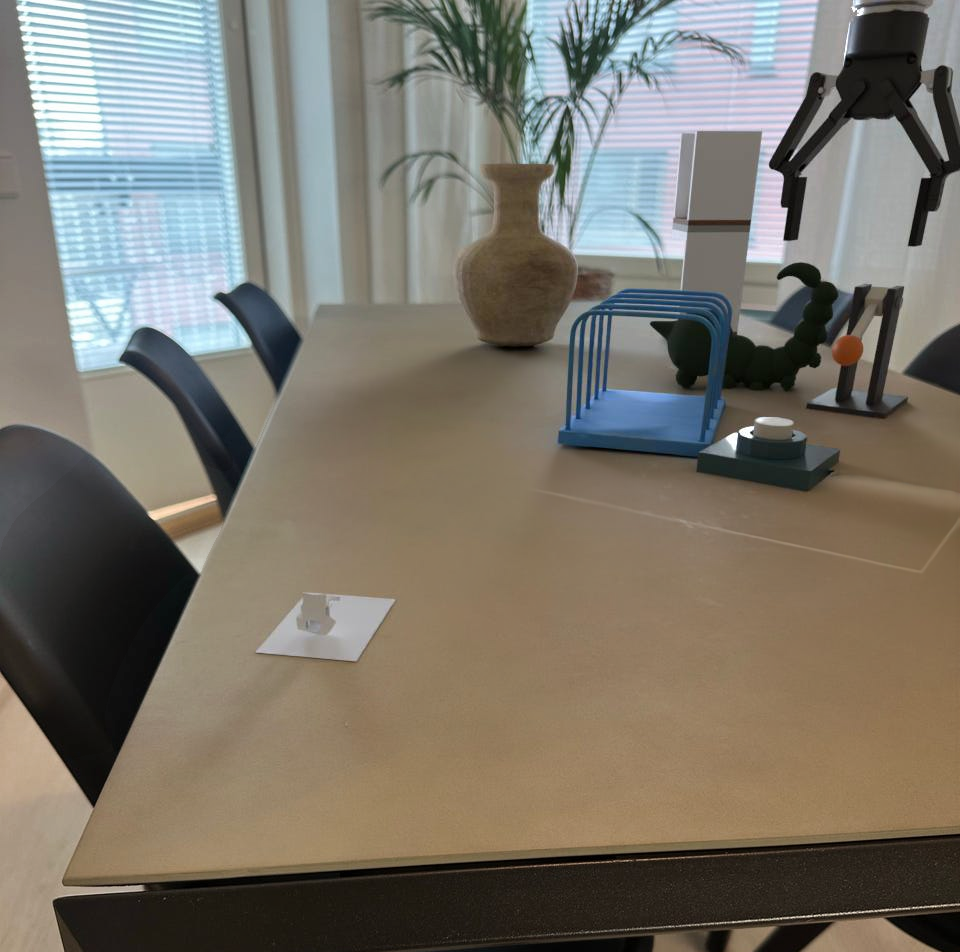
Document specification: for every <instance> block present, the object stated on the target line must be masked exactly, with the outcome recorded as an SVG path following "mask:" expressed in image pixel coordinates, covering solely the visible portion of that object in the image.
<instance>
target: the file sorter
mask: <svg viewBox="0 0 960 952" xmlns="http://www.w3.org/2000/svg"><path fill="white" fill-rule="evenodd" d="M681 295H693V296H681ZM701 296H710V297H701ZM711 297H717V298H719V299H721V300H722V301H723V302H724V303H725V304H726V306H727V309H728V313H727V310H726V308H725V306H724V305H723V304H722V303H721V302H720V301H719V300H717V299H715V298H711ZM679 300H682V301H679ZM690 301H701V302H690ZM705 302H711V303H714V304H715V305H717V306H718V307H719V308H720V309H721V311H722V312H721V311H720V310H719V309H718V308H717V307H716V306H714V305H713V304H710V303H705ZM679 306H688V307H679ZM689 307H703V308H708V309H711V310H712V311H714V312H715V313H716V314H717V315H718V317H719V320H720V324H719V322H718V320H717V318H716V317H715V316H714V315H713V314H712V313H711V312H709V311H708V310H705V309H701V308H689ZM678 312H682V313H697V314H703V315H705V316H707V317H709V318H710V319H711V320H712V322H713V323H714V325H715V329H716V331H715V329H714V327H713V325H712V324H711V323H710V322H709V321H708V320H707V319H705V318H703V317H701V316H698V315H689V314H678ZM722 313H723V314H722ZM605 316H607V320H606V321H607V322H606V333H605V334H606V335H605V346H604V361H603V372H602V387H601V388H600V378H601V362H602V349H603V335H604V318H605ZM589 317H591V318H590V319H591V320H590V327H589V328H590V331H589V343H588V358H587V375H586V376H587V377H586V393H585V402H584V404H583V405H582V394H583V393H582V392H583V376H584V375H583V372H584V354H585V353H584V351H585V335H586V325H587V322H588V319H589ZM597 317H598V332H597V347H596V348H597V349H596V360H595V361H596V362H595V376H594V377H595V379H594V393H593V395H592V380H593V378H592V377H593V365H594V348H595V337H596V327H597V325H596V322H597ZM613 317H634V318H649V319H650V318H651V319H652V318H653V319H668V320H678V319H681V320H695V321H699V322H701V323H703V324H704V325H705V326H706V327H707V328H708V329H709V331H710V333H711V337H712V345H711V355H710V364H709V373H708V375H707V382H706V388H705V396H703V395H690V394H680V393H679V394H677V393H665V392H663V393H662V392H650V391H637V390H626V389H625V390H623V389H610V388H607V384H608V372H609V357H610V348H611V347H610V345H611V335H612V333H611V332H612V321H613ZM731 319H732V308H731V304H730V302H729V301H728V299H727V298H726V297H725V296H723V295H722V294H719V293H716V292H704V291H686V290H681V289H663V288H662V289H661V288H638V287H637V288H634V287H632V288H631V287H630V288H629V287H628V288H624V289H622V290H620V291H618V292H617V293H615V294H613V295H611V296H609V297H608V298H607V299H605V300H603V301H601V302H600V303H599V304H597V305H594V306H593V307H591V308H589V309H588V311H585V312H583V313H582V314H580V315H579V316H578V317H576V319H575V320H574V321H573V324H572V326H571V329H570V334H569V345H568V347H569V348H568V361H567V363H568V364H567V384H566V403H565V404H566V405H565V423H564V424H563V425H562V426H561V428H559V429H558V433H557V435H558V436H557V444H559V445H565V446H573V447H582V448H583V447H584V448H591V447H593V448H604V449H615V450H626V451H635V452H636V451H637V452H645V453H646V452H647V453H656V454H657V453H658V454H671V455H674V456H684V457H694V458H698V454H699V452H700V451H702V450H704V449H705V448H707V447H709V446H711V445H713V444H714V443H713V442H714V440H715V436H716V434H717V432H718V428H719V426H720V422H721V419H722V416H723V413H724V410H725V407H726V403H727V402H726V401H727V399H726V398H725V397H722V390H723V388H722V384H723V378H724V370H725V363H726V356H727V349H728V342H729V335H730V327H731ZM579 324H580V327H579V328H580V329H579V339H578V342H579V343H578V358H577V359H578V360H577V377H576V378H577V379H576V380H577V381H576V403H575V413H574V414H573V415H572V403H573V402H572V401H573V381H574V363H575V362H574V361H575V347H576V346H575V345H576V333H577V328H578V326H579Z"/></svg>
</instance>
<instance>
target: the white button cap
mask: <svg viewBox="0 0 960 952" xmlns="http://www.w3.org/2000/svg"><path fill="white" fill-rule="evenodd" d="M754 419H755V420H754V423H753V426H754V429H753V436H756V437H758V438H765V439H773V440H785V439H792V433H793V429H794V426H795V422H794V420H791V419H790V418H789V419H788V418H784V417H778V416H762V417H757V418H754Z"/></svg>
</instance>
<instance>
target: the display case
mask: <svg viewBox="0 0 960 952" xmlns="http://www.w3.org/2000/svg"><path fill="white" fill-rule="evenodd" d="M762 136H763V130H742V131H741V130H695V133H694V132H693V133H692V132H691V133H689V132H687V133H686V132H683V133H682V132H681V133H680V136H679V137H680V138H679V139H680V140H679V148H678V149H679V150H678V151H679V152H678V162H677V173H676V182H675V183H676V184H675V195H674V204H673V205H674V207H673V216H672V229H671V238H674V239H678V240H681V241H684V248H683V249H684V250H683V259H682V270H681V281H680V290H686V291H704V292H716V293H719V294H722V295H723V296H725V297H726V298H727V299H728V301H729V302H730V304H731V308H732V319H731V327H732V330H733V333H734V335H738V330H739V322H740V315H741V306H742V298H743V289H744V282H745V274H746V268H747V267H746V266H747V256H748V251H749V250H748V249H749V241H750V233H751V226H752V218H753V209H754V200H755V193H756V186H757V185H756V184H757V177H758V169H759V161H760V153H761V145H762V139H763V137H762ZM681 296H693V295H681ZM701 297H710V296H701ZM711 298H715V299H717V300H719V301H720V302H721V303H722V304H723V305H724V306H725V308H726V310H727V313H728V309H727V306H726V304H725V303H724V302H723V301H722V300H721V299H719V298H717V297H711ZM678 301H682V300H678ZM690 302H701V301H690ZM705 303H710V304H713V305H714V306H716V307H717V308H718V309H719V310H720V311H721V309H720V308H719V307H718V306H717V305H715V304H714V303H711V302H705ZM678 307H688V306H678ZM689 308H701V309H708V308H703V307H689ZM709 310H711V309H709ZM721 312H722V311H721ZM677 314H686V313H682V312H677ZM722 314H723V313H722Z"/></svg>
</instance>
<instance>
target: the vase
mask: <svg viewBox="0 0 960 952" xmlns="http://www.w3.org/2000/svg"><path fill="white" fill-rule="evenodd" d="M555 169H556V166H555V164H553V163H482V164H480V165H479V172H480V175H481V176H482V177H483V178H484V179H486V180H488V181H489V182H490V183H491V185H492V187H493V222H492V223H493V224H492V227H491V229H490V230H489V232H488V233H487V234H485V235H484V236H483V237H480V238H478V239H476V240H474V241H473V242H471V243H469V244H468V245H466V246H465V247H464V248H463V249H462V250H460V252H459V253H458V254H457V256H456V258H455V260H454V263H453V267H452V268H453V280H454V288H455V291H456V295H457V298H458V301H459V303H460V305H461V307H462V309H463V311H464V313H465V315H466V316H467V318H468V319H469V322H470V323H471V325H472V327H473V331H474V336H475V338H476V339H477V340H479V341H480V342H482V343H486V344H489V345H493V346H497V345H498V347H504V346H526V347H531V346H532V345H533V346H537V345H540V344H543V343H547V342H549V341H551V340H552V339H553V338H554V336H555V334H556V328H557V326H558V324H559V323H560V321H561V319H562V318H563V316H564V314H565V313H566V311H567V309H568V308H569V305H570V304H571V302H572V300H573V296H574V294H575V291H576V287H577V281H578V274H579V266H578V261H577V258H576V257H575V255H574V253H572V251H571V250H570V249H569V248H568V247H567V246H565V245H564V244H563V243H561V242H559V241H557V240H556V239H554V238H552V237H550V236H548V235H547V234H545V233H544V232H543V231H542V229H541V225H540V191H541V186H542V184H543V183H544V181H546V180H547V179H550V178H551V177H552V176H553V175H554V173H555ZM533 346H532V347H533Z"/></svg>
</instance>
